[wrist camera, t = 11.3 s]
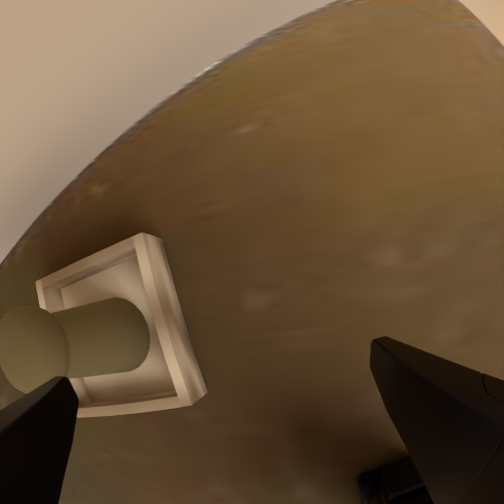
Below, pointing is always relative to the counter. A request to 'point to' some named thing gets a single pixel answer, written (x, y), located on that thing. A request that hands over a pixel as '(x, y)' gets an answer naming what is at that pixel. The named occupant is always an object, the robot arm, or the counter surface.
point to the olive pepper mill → (72, 342)
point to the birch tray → (156, 315)
